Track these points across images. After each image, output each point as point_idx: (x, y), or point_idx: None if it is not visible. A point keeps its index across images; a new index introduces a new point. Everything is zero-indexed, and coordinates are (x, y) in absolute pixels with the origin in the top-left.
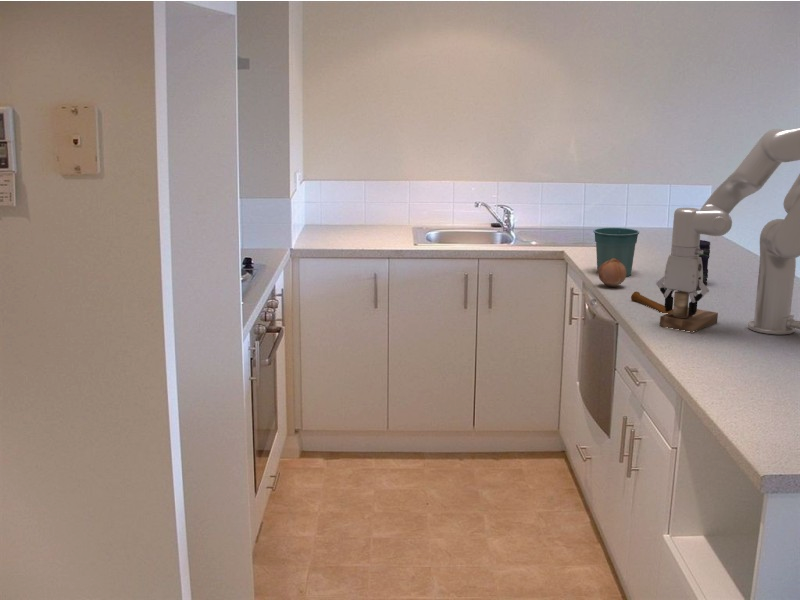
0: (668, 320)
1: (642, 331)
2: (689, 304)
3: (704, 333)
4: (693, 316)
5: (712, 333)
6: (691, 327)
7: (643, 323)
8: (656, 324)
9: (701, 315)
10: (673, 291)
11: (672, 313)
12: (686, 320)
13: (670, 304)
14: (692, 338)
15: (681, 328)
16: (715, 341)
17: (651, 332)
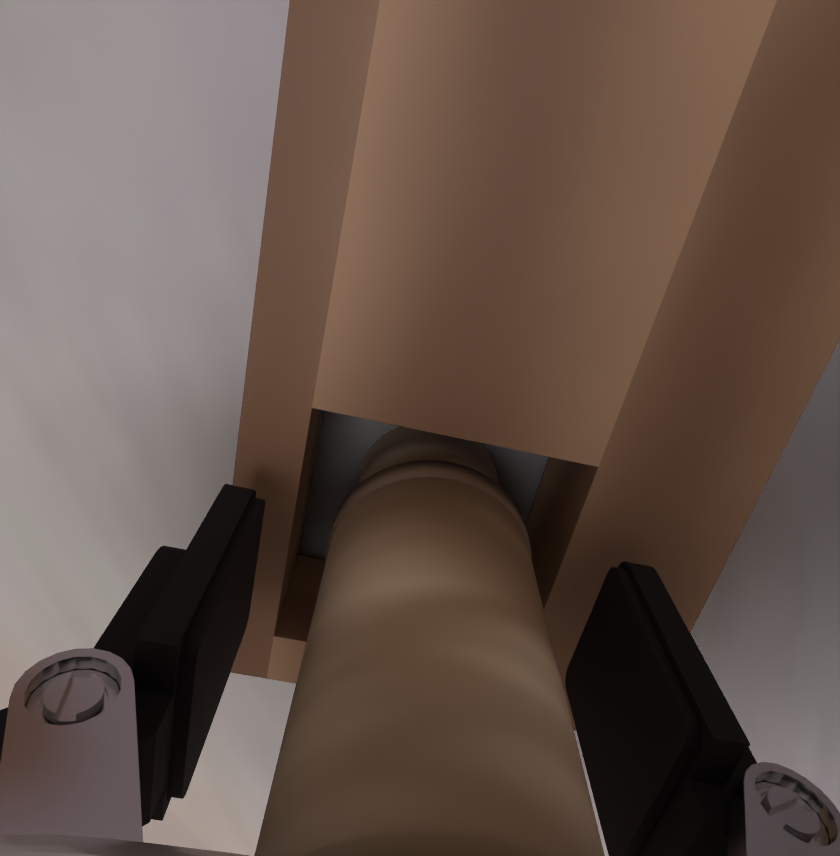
0: None
1: (191, 790)
2: (615, 845)
3: (722, 612)
4: (604, 475)
5: (804, 575)
6: None
7: (49, 550)
8: (180, 522)
9: (717, 349)
10: (139, 805)
11: (283, 457)
12: None
13: (229, 632)
14: None
15: None
16: (822, 788)
17: (268, 784)
